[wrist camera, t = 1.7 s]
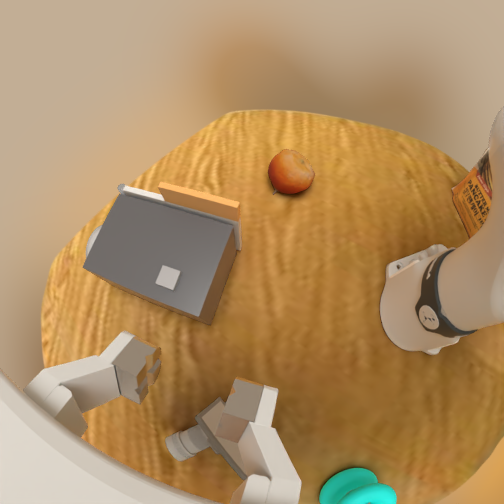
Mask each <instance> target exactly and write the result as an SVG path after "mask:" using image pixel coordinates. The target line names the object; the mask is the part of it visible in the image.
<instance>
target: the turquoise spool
mask: <svg viewBox="0 0 504 504" xmlns="http://www.w3.org/2000/svg"><path fill="white" fill-rule="evenodd" d="M351 490H352V491H351ZM349 491H350V492H349ZM348 492H349V493H348ZM346 493H347V494H346ZM396 500H397V497H396V493H395V491H394V490H393V489H392V488H391V487H390V486H388V485H386V484H382V483H378V480H377V478H376V476H375V474H374V473H373V472H371V471H370V470H368V469H364V468H351V469H347V470H344V471H342V472H339V473H338V474H336V475H334V476H333V477H332V478H330V479H329V480H328V481H327V482H326V483H325V485H324V486H323V488H322V490H321V492H320V496H319V501H320V504H368V503H369V502H370V504H396Z"/></svg>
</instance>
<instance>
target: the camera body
mask: <svg viewBox="0 0 504 504" xmlns="http://www.w3.org/2000/svg"><path fill="white" fill-rule="evenodd" d="M236 254H237V253H236V244H235V236H234V227H233V226H232V225H228V224H225V223H221V222H218V221H215V220H211V219H208V218H204V217H201V216H197V215H194V214H190V213H187V212H183V211H180V210H176V209H173V208H169V207H166V206H162V205H159V204H155V203H151V202H148V201H144V200H140V199H137V198H133V197H130V196H126V195H122V194H119V196H118V197H117V199H116V201H115V203H114V205H113V206H112V208H111V210H110V212H109V214H108V216H107V218H106V219H105V221H104V223H103V225H101V226H99V227H97V228H96V229H95V230H94V231H93V233H92V234H91V236H90V238H89V240H88V243H87V247H86V261H85V263H84V265H83V268H84V269H86V270H88V271H89V272H91V273H92V274H94V275H96V276H97V277H99V278H101V279H102V280H104V281H106V282H108V283H109V284H111V285H113V286H115V287H117V288H119V289H121V290H124V291H126V292H128V293H130V294H133V295H135V296H137V297H139V298H142V299H144V300H147V301H149V302H151V303H154V304H156V305H159V306H161V307H163V308H166V309H168V310H171V311H173V312H176V313H179V314H181V315H184V316H186V317H189V318H192V319H194V320H197V321H200V322H202V323H205V324H208V325H211V323H212V320H213V317H214V315H215V312H216V309H217V306H218V303H219V301H220V298H221V295H222V292H223V290H224V287H225V284H226V281H227V279H228V276H229V273H230V270H231V268H232V265H233V262H234V260H235V257H236Z"/></svg>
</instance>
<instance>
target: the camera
mask: <svg viewBox="0 0 504 504" xmlns="http://www.w3.org/2000/svg"><path fill="white" fill-rule="evenodd" d="M226 402H227V401H226ZM226 402H225V403H224V402H223V400H222V399H221V397H218V398H217V399H216V400H215V401H214V402H212V403H211V404H210V405H209V406H208V407H206V408H205V409H204V410H203V411H201V412H200V413H199V414H198V415H196V417H195V420H196V421H197V423H198V425H196V426H194V427H192V428H190V429H188V430H185V431H179V432H177V433H175V434H172V435H170V436H168V437H166V439H165V442H166V446H167V448H168V450H169V452H170V453H171V455H172V456H173V457H174V458H175V459H177V460H178V461H183V460H186V459H188V458H190V457H193V456H195V455H196V454H197V452H199V451H201V450H204V449H206V448H208V447H211V448H212V449H213V451H214V452H215V453H216V454H221V455H222V456H223V457H224V458H225V460H226V461H227V462H228V463H229V465H230V466H231V467H232V468H233V469H234V471H235V472H236V473H237V474H238V475H239V476H240V478H241V479H242V480H246V479H247V478H248V476H247V473H246V470H245V467H244V464H243V461H242V458H241V454H240V451H239V448H238V445H237V444H238V443H235V442H232V441H229V440H226V439H223V438H220V437H218V436H215V434H216V430H217V427H218V425H219V421H220V419H221V416H222V413H223V410H224V407H225V405H226Z"/></svg>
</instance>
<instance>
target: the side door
mask: <svg viewBox="0 0 504 504" xmlns="http://www.w3.org/2000/svg"><path fill="white" fill-rule="evenodd" d="M158 188H159V190H160V192H161V194H162V195H160V194H156V193H153V192H149V191H145V190H141V189H137V188H133V187H129V186H125V185H124V184H120V185H119V186H118V190H119V192H120V193H121V194H122V195H126V196H130V197H133V198H137V199H140V200H144V201H148V202H151V203H155V204H159V205H162V206H166V207H169V208H173V209H176V210H180V211H183V212H187V213H190V214H194V215H197V216H201V217H204V218H208V219H211V220H215V221H218V222H221V223H225V224H228V225H232V226H233V227H234V236H235V244H236V250H239V251H241V248H242V236H241V219H240V202H237V201H233V200H230V199H226V198H222V197H219V196H215V195H211V194H207V193H203V192H200V191H196V190H192V189H188V188H184V187H180V186H176V185H172V184H168V183H164V182H160V184H159V186H158Z"/></svg>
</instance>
